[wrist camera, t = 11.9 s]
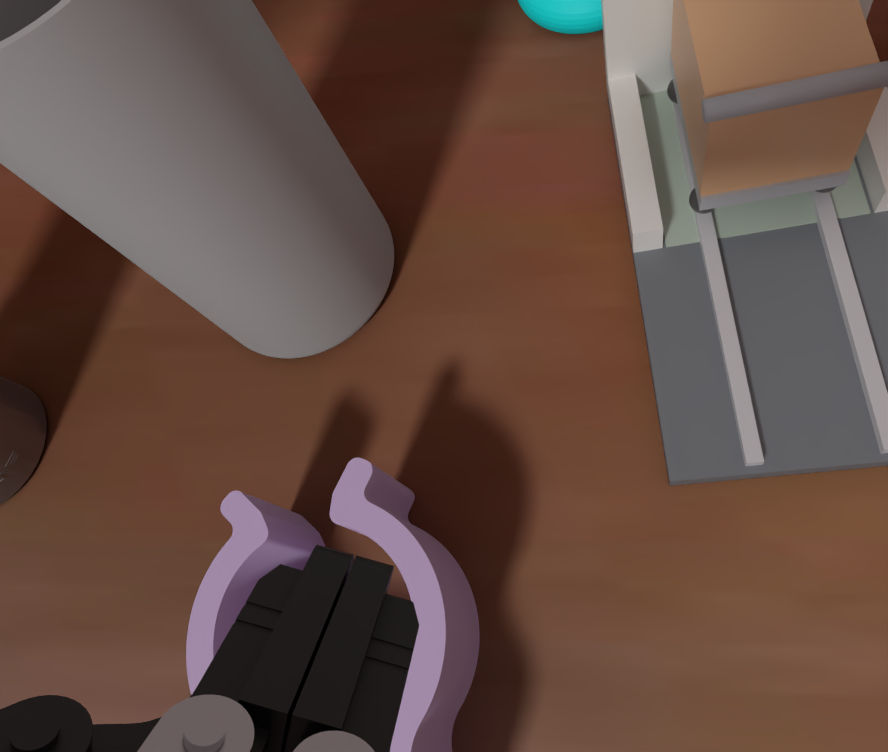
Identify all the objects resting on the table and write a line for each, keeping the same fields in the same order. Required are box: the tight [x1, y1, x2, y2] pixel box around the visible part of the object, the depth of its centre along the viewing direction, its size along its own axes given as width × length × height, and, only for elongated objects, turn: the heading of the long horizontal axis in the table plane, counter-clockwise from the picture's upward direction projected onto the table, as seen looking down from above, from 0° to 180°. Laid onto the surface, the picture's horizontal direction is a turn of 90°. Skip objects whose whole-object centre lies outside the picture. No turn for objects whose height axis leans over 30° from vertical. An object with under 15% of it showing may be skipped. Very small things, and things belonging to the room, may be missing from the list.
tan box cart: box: [667, 0, 888, 214], centre depth 35 cm, size 8×10×10 cm
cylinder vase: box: [0, 0, 394, 358], centre depth 35 cm, size 12×12×25 cm
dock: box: [601, 0, 888, 486], centre depth 35 cm, size 14×25×9 cm, turn 3°
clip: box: [186, 458, 480, 752], centre depth 33 cm, size 20×12×7 cm, turn 12°
